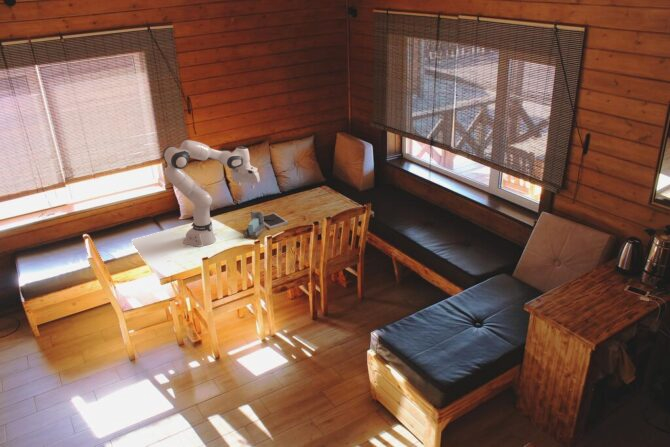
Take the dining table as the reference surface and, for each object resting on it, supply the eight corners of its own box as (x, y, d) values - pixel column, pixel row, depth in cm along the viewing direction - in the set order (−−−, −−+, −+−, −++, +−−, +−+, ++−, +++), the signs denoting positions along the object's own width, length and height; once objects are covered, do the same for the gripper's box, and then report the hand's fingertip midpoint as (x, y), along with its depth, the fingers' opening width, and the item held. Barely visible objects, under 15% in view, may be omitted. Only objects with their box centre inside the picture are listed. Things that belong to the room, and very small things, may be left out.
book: (249, 234, 403) (247, 224, 399) (255, 227, 412) (254, 217, 409) (253, 235, 402) (252, 225, 398) (259, 228, 411) (258, 218, 408)
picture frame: (256, 220, 428) (269, 230, 413) (255, 217, 427) (269, 226, 411) (274, 214, 436) (288, 224, 420) (274, 211, 435) (288, 220, 419)
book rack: (243, 237, 402) (241, 220, 396) (252, 228, 415) (250, 211, 409) (257, 239, 400) (255, 221, 394) (265, 229, 413) (263, 212, 407)
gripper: (228, 169, 398) (231, 188, 404) (255, 171, 392) (257, 190, 398) (232, 166, 403) (235, 184, 409) (259, 168, 397) (261, 187, 404)
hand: (246, 187), depth 404 cm, fingers open, 8 cm apart
